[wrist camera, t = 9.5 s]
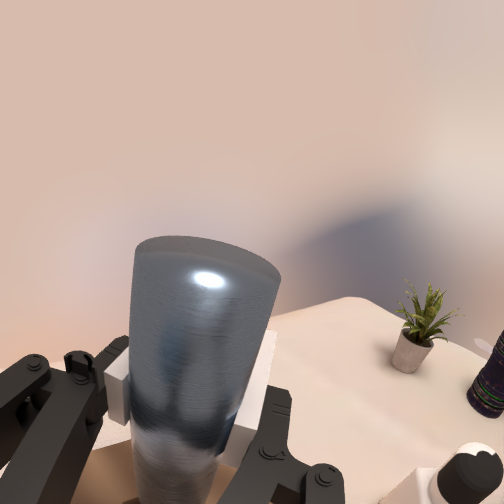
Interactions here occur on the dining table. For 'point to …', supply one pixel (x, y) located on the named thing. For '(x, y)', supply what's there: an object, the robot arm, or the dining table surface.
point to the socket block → (126, 478)
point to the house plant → (418, 334)
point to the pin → (191, 358)
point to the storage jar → (490, 384)
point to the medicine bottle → (452, 479)
